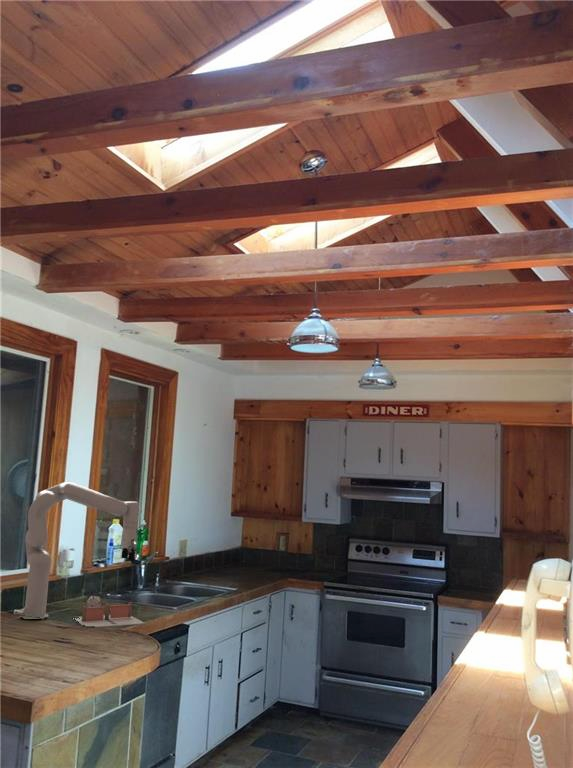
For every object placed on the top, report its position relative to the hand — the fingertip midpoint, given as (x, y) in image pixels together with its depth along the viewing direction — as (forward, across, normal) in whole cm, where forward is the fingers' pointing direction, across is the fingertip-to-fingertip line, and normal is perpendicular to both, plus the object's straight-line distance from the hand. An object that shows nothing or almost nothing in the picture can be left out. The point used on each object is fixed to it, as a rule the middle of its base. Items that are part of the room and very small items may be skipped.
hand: (128, 559), depth 343 cm
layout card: (+27, +15, -14) cm, 34 cm away
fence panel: (+26, +13, -7) cm, 30 cm away
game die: (+27, -11, -12) cm, 32 cm away
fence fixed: (+26, +13, -19) cm, 35 cm away
